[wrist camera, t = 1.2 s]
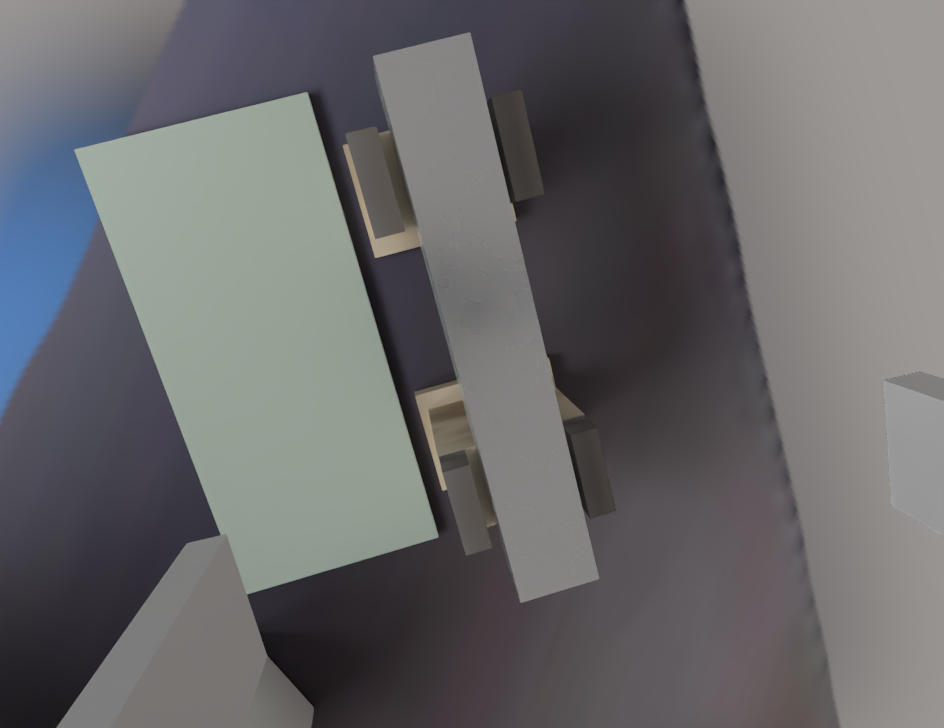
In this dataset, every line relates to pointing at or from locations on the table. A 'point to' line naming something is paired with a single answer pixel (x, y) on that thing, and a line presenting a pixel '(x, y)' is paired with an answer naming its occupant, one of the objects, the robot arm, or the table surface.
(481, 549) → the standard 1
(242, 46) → the table surface
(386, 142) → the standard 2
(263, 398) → the mat
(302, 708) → the medicine bottle
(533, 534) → the rail
